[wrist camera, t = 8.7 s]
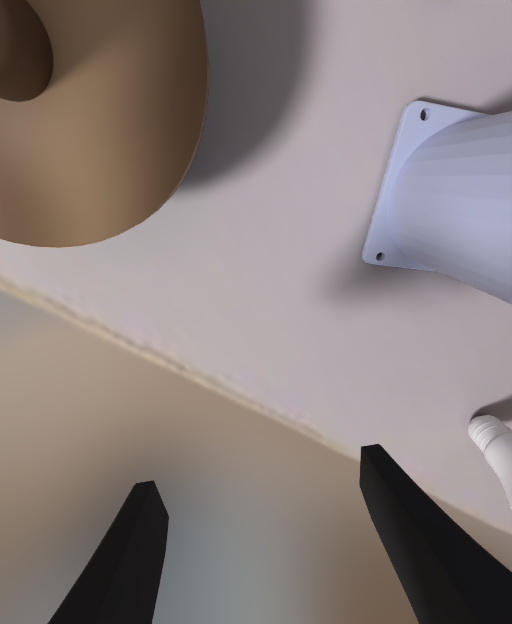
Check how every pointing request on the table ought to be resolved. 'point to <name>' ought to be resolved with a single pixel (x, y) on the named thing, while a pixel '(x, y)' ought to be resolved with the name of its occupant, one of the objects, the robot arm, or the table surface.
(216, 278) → the table surface
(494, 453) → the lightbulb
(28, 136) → the lid
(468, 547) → the robot arm
